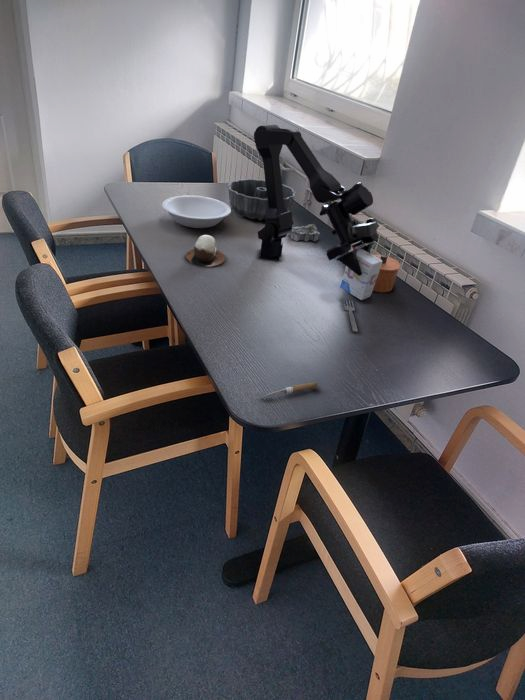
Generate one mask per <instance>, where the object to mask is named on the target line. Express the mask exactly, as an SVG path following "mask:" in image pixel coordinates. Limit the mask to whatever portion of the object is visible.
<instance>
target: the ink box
mask: <svg viewBox="0 0 525 700" xmlns="http://www.w3.org/2000/svg"><path fill="white" fill-rule="evenodd" d="M374 255H375V254H371V252H370V253H368V252H367V251H365V250H363V249H357V254H356V258H357V260H358V263H359V266H360V268H361V272H362V275H360V276H358V275H357V274H356V273H355V272H353V271H352V270H351V269H350V268H348V267H347V266H346V265H345V269H344V272H343V275H342V279H341V283H340V285H339V288H340V289H342V290H343V291H345V292H347V293H348V294H350V295H352V296H353V297H355V298H357V299H358V300H360V301H364V300H366V299H368V298H371V296H372V293H373V292H374V291H373V288H374V285H375V282H376V279H377V276H378V274H379V271H380V268H381V265H382V262H383V261H382V260H381V259H379V258H377V257H375V256H374Z"/></svg>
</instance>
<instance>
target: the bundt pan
mask: <svg viewBox="0 0 525 700" xmlns="http://www.w3.org/2000/svg"><path fill="white" fill-rule="evenodd" d="M226 187H227V188H228V189H227V190H228V199H229V204H230V205H229V206H230V207H231V208H232V210H233V211H234V212H235V213H237V214H239V215H240V217H242V218H246V217H247V218H248V219H250V220H255V219H257V220H258V221H260V222H261V221H262V220H264V221H265V218H266V215H267V212H268V199H267V191H266V182H265V179H254V178H246V179H244V178H243V179H237V180H233V181H230V182H229V184H227V186H226ZM282 189H283V198H284V206H285V208H286V209H287V211H288V212H289V211H291V208H292V204H293V201H294V198H295V196H296V194H297V192H296V191H294V189H293V188H292V187H289V186H287V185H286V184H283V183H282Z"/></svg>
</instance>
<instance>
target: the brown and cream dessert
mask: <svg viewBox="0 0 525 700" xmlns="http://www.w3.org/2000/svg"><path fill="white" fill-rule="evenodd" d="M217 246H218V245H217V241H216V239H215V238H214V236H212V235H209V234H203V235H200V236H199V237H198V238H197V239H196V242H195V244H194V246H193V249H190V250H189V251H187V252H186V254H185V258H186V260H187V261H188V262H189V263H191V264H193V265H195V266H199V267H215V266H219V265H221V264H223V263H224V262H225V261H226V257H225V254H224V253H223V252H221V251H220V250H217Z"/></svg>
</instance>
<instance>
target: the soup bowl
mask: <svg viewBox="0 0 525 700" xmlns="http://www.w3.org/2000/svg"><path fill="white" fill-rule="evenodd" d="M161 206H162V208H163V210H164V211H166V212H167V213H168V215H169V216H170V217H171V219H172V220H174V221H175V222H176V223H178V224H180V225H182V226H185V227H188V228H192V229H208V228H212V227H214V226H216V225H218V224H220V223H221V222H222V221H223V220H224V219H225V217H228V216H229V215H230V214H231V212H232V209H231V208H232V207H231V206H230V205H228V204H227V203H226V202H224V201H222V200H220V199H216V198H213V197H209V196H203V195H194V194H193V195H191V194H190V195H188V194H187V195H176V196H175V195H174V196H171V197H168V198H166V199H165V200H163V201H162V204H161Z"/></svg>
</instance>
